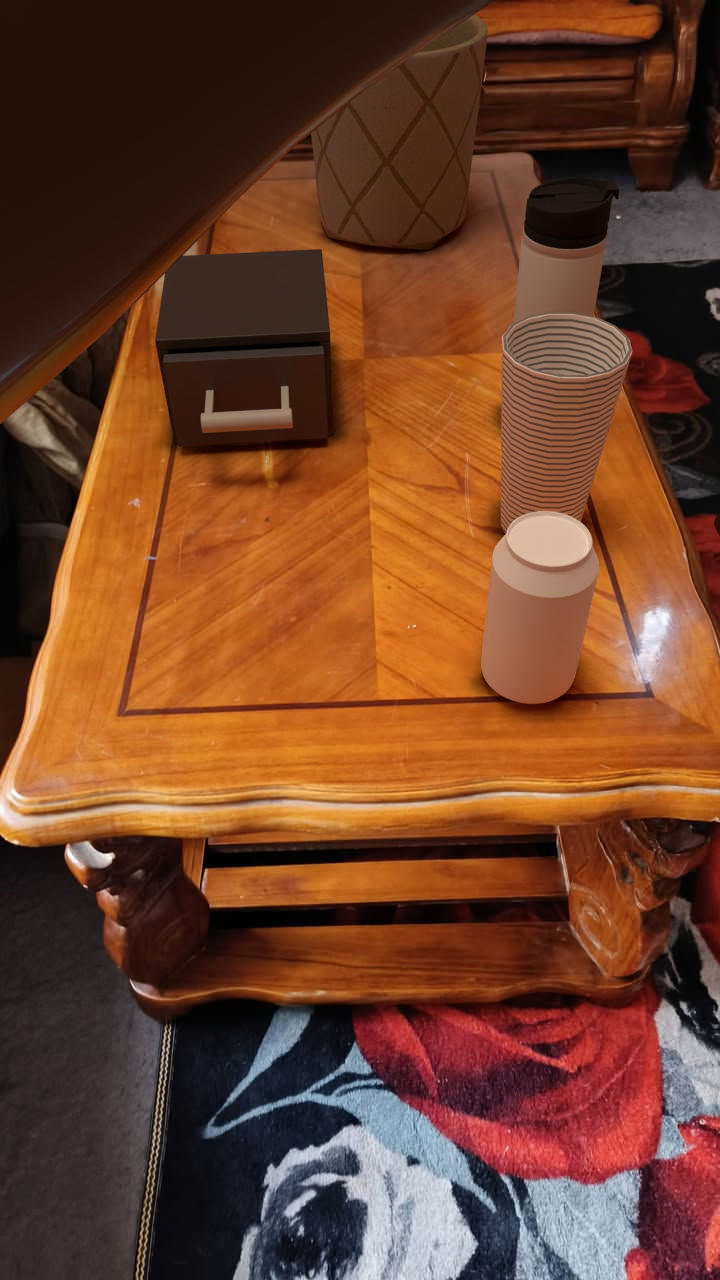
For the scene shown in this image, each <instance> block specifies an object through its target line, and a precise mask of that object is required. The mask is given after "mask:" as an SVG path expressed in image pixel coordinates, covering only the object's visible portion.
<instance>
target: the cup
mask: <svg viewBox="0 0 720 1280" xmlns="http://www.w3.org/2000/svg"><path fill="white" fill-rule="evenodd" d="M633 352H634V351H633V348H632V344H631V340H630V338H629V336H627V334H625V333H624V332H623V331H622V330H621V329H620V328H619V327H618V326H617V325H615V324H613V323H610V322H608V321H606V320H604V319H601V318H599V317H598V316H595V315H594V316H589V315H584V314H579V313H574V312H547V313H542V314H537V315H532V316H527V317H525V318H524V319H522V320H520V321H518V322H516V323H514V324H513V323H512V324H510V325H509V326H508V328H507V330H506V331H505V332H504V334H503V335H502V336H501V404H500V406H501V411H500V413H501V414H500V418H501V419H500V434H501V435H500V528H501V530H502V531H503V533H504V534H506V533H507V529H508V527H509V526H510V524H511V523H512V522H513V521H514V520H515V519H517V518H518V517H520V516H522V515H524V514H527V513H531V512H537V511H552V512H558V513H562V514H566V515H568V516H571V517H573V518H575V519H577V520H578V521H580V522H581V523H582V519H583V517H584V514H585V513H584V512H585V509H586V506H587V504H588V500H589V496H590V494H591V490H592V487H593V483H594V480H595V476H596V474H597V470H598V467H599V463H600V460H601V458H602V454H603V451H604V447H605V444H606V440H607V437H608V433H609V431H610V427H611V424H612V421H613V418H614V414H615V411H616V407H617V404H618V402H619V398H620V395H621V391H622V388H623V384H624V382H625V378H626V374H627V371H628V368H629V365H630V362H631V359H632V355H633Z"/></svg>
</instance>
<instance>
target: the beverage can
mask: <svg viewBox="0 0 720 1280" xmlns="http://www.w3.org/2000/svg"><path fill="white" fill-rule="evenodd" d="M504 534H505V533H504ZM597 555H598V554H597V553H596V550H595V548H594V546H593V537H592V533H591V532H590V530H589V529H588V528H587V526H586V525H585V524H584V523H583V522H582V521H581V522H580V521H578V520H577V519H575V518H573V517H571V516H568V515H566V514H562V513H558V512H552V511H537V512H531V513H527V514H524V515H522V516H520V517H518V518H517V519H515V520H514V521H513V522H512V523H511V524H510V526H509V527H508V529H507V533H506V534H505V535H503V537H502V538H501V539H500V540H499V541H498V542H497V543H496V545H495V547H494V549H493V552H492V555H491V564H490V573H489V581H488V590H487V598H486V609H485V610H486V611H485V617H484V618H485V619H484V626H483V627H484V628H483V637H482V644H481V645H482V646H481V655H480V656H481V657H480V668H481V673H482V676H483V679H484V680H485V682H486V683H487V684H488V685H489V687H490V688H491V689H492V690H494V692H496V693H497V694H499V695H500V696H501V697H504V698H506V699H508V700H510V701H513V702H516V703H520V704H528V705H537V704H545V703H548V702H552V701H554V700H556V699H558V698H560V697H562V696H563V695H565V694H566V693H567V691H569V689H570V688H571V686H572V685H573V683H574V680H575V677H576V673H577V670H578V666H579V661H580V657H581V654H582V653H581V652H582V648H583V644H584V640H585V636H586V631H587V626H588V622H589V618H590V612H591V608H592V603H593V599H594V596H595V595H594V594H595V590H596V586H597V582H598V581H597V580H598V577H599V572H600V560H599V557H598V556H597Z"/></svg>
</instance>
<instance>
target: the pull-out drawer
mask: <svg viewBox="0 0 720 1280" xmlns="http://www.w3.org/2000/svg"><path fill="white" fill-rule="evenodd" d="M176 351H177V354H165V355H164V359H163V365H164V370H165V375H166V381H167V386H168V392H169V397H170V402H171V408H172V413H173V419H174V424H175V429H176V435H177V440H178V444H177V445H178V447H189V446H190V447H191V446H211V445H225V444H226V445H229V444H245V443H260V442H261V443H262V442H264V443H265V442H279V441H280V442H281V441H297V440H299V441H300V440H316V439H317V440H318V439H328V438H329V436H328V424H327V404H326V383H325V363H324V348H323V346H315V347H313V342H304V343H285V344H266V345H247V346H228V347H209V348H190V349H176Z"/></svg>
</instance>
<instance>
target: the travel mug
mask: <svg viewBox="0 0 720 1280" xmlns="http://www.w3.org/2000/svg"><path fill="white" fill-rule="evenodd" d="M614 198H615V200H619V198H620V188H619V186H618V184H617V182H616V181H615V180H613V179H612V180H611V179H610V180H609V179H608V180H607V179H606V180H603V179H599V178H595V177H590V176H565V177H559V178H555V179H551V180H548V181H545V182H543V183H541V184H539V185H536V186H535V187H534V188H532V189H531V190H530V193H529V194H528V198H526V205H525V214H524V217H525V219H524V223H523V227H522V238H521V246H520V252H519V253H520V254H519V261H518V263H519V264H518V271H517V272H518V273H517V281H516V291H515V299H514V300H515V301H514V309H513V319H512V324H514V323H516V322H518V321H520V320H522V319H524V318H525V317H527V316H532V315H537V314H542V313H547V312H574V313H579V314H584V315H589V316H594V317H595V311H596V304H597V299H598V294H599V293H598V292H599V286H600V282H601V281H600V280H601V274H602V270H603V264H604V258H605V252H606V242H607V239H608V235H609V234H608V229H609V223H610V217H611V210H612V205H613V204H612V203H613V199H614Z"/></svg>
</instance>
